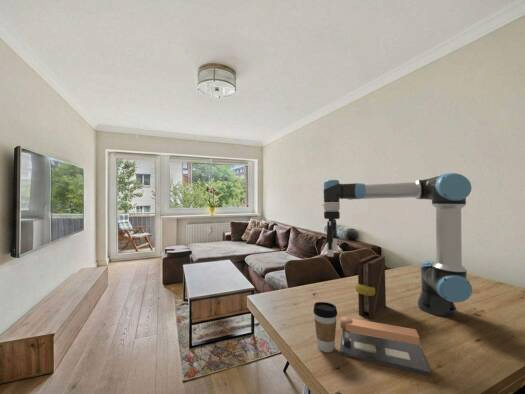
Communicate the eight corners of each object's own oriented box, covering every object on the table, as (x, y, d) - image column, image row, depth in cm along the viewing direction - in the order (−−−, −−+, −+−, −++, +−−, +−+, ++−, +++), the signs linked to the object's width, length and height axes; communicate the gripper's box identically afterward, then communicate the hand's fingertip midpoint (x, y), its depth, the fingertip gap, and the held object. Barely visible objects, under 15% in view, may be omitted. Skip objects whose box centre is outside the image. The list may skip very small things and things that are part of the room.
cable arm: (416, 336, 78) (415, 328, 78) (419, 345, 73) (419, 336, 73) (341, 322, 87) (340, 315, 87) (340, 329, 83) (339, 321, 83)
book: (371, 301, 122) (370, 254, 123) (389, 306, 116) (388, 256, 117) (353, 316, 107) (352, 261, 107) (372, 323, 101) (371, 265, 101)
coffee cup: (310, 340, 88) (310, 300, 88) (332, 339, 88) (331, 299, 89) (318, 355, 79) (317, 311, 80) (341, 353, 80) (341, 309, 80)
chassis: (419, 348, 82) (418, 330, 83) (430, 375, 70) (429, 353, 70) (342, 333, 92) (342, 316, 93) (339, 354, 80) (339, 335, 80)
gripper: (327, 210, 129) (328, 248, 128) (319, 211, 106) (320, 258, 105) (341, 210, 126) (342, 249, 125) (336, 211, 103) (337, 259, 102)
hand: (332, 253), depth 115 cm, fingers open, 13 cm apart
